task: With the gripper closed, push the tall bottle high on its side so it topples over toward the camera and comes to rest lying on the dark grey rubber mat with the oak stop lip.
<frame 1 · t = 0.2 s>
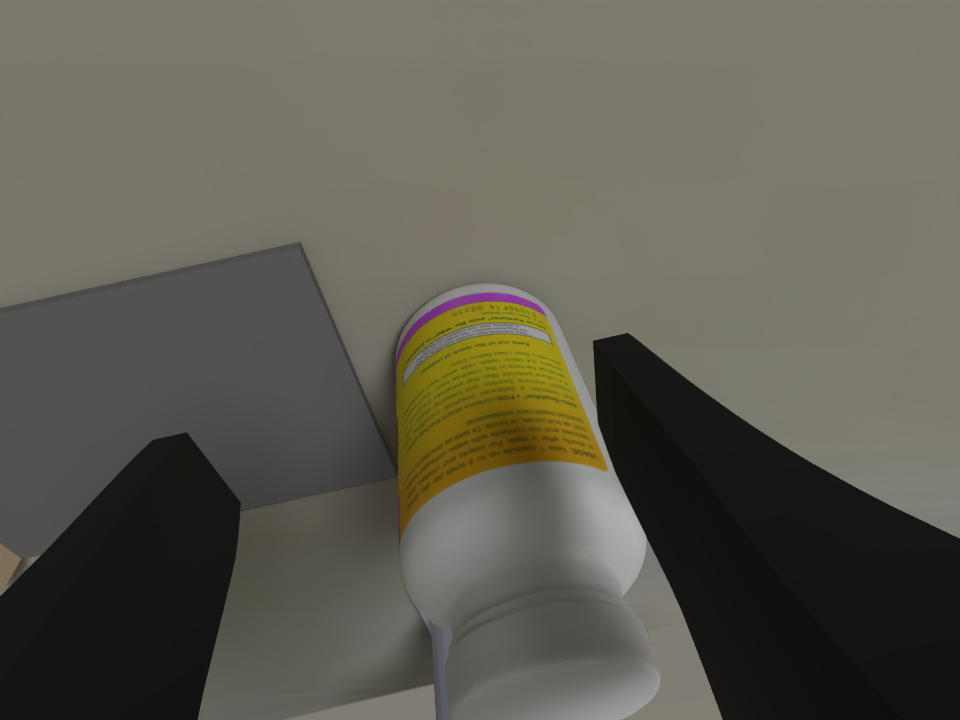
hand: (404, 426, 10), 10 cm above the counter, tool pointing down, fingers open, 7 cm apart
supplement bottle: (478, 346, 22), on the counter
mat: (138, 424, 22), on the counter
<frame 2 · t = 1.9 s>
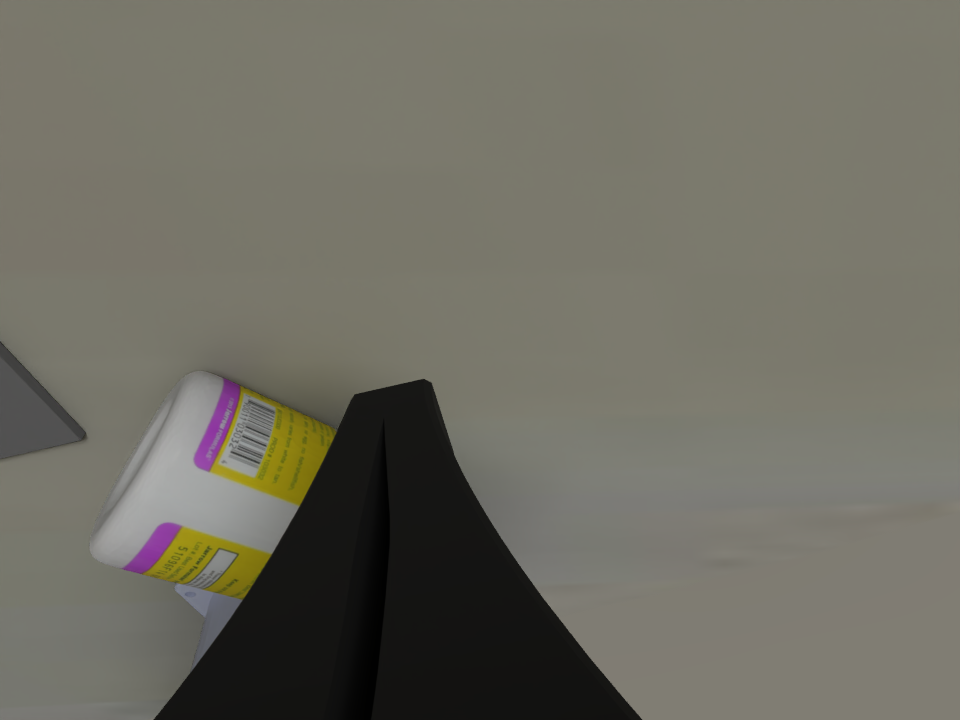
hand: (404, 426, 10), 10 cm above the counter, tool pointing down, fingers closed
supplement bottle: (131, 449, 17), point 3 cm above the counter
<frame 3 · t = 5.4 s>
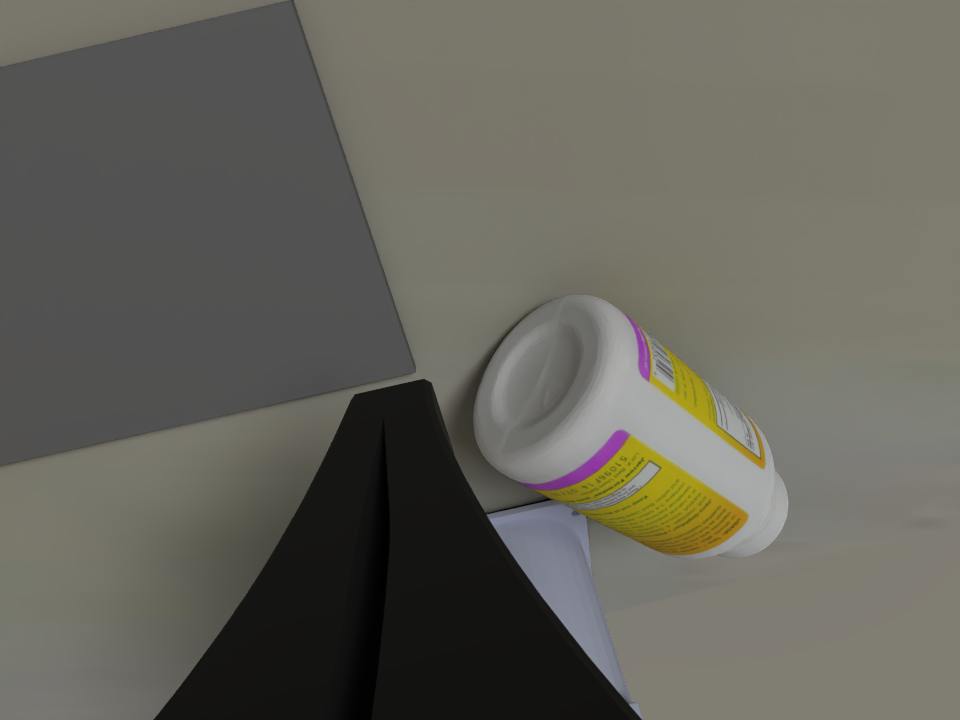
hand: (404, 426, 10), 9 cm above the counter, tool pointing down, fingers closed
supplement bottle: (527, 369, 17), point 3 cm above the counter
mat: (92, 285, 17), on the counter
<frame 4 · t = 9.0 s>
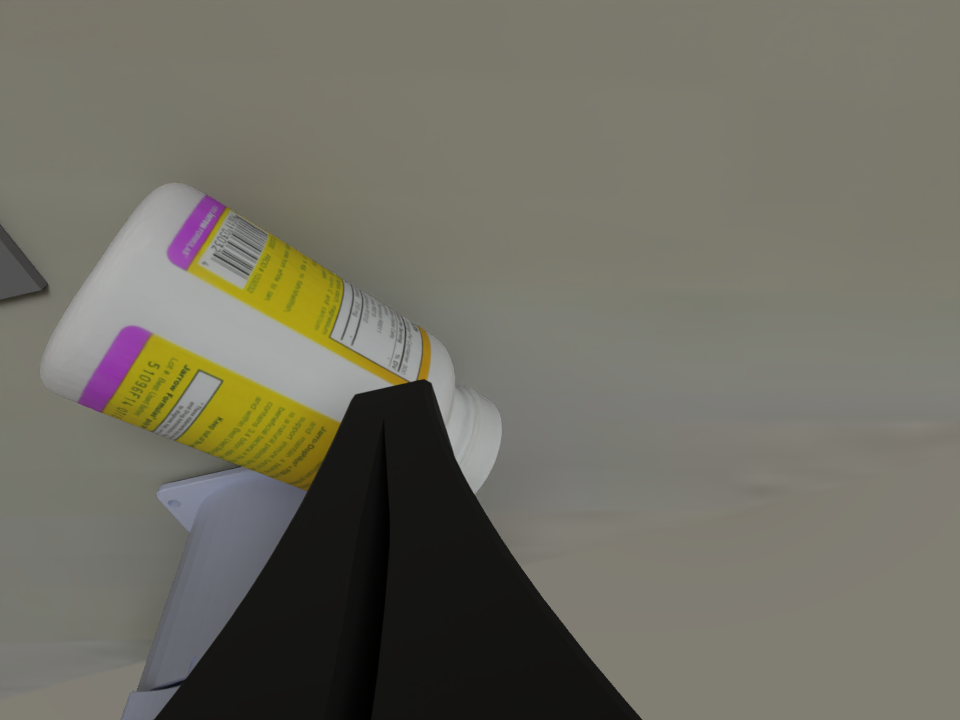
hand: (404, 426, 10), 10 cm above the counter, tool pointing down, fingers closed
supplement bottle: (94, 268, 14), point 3 cm above the counter
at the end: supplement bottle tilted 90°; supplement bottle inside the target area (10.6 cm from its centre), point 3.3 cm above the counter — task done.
